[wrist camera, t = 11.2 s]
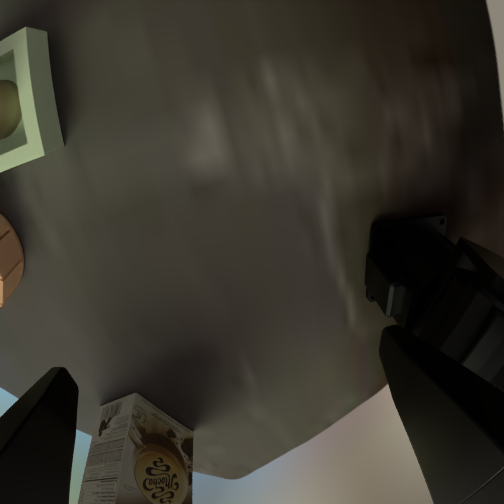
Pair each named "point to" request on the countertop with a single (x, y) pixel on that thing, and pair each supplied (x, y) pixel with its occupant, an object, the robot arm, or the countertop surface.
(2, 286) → the holder
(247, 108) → the countertop surface
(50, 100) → the tray
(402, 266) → the robot arm
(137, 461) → the coffee box
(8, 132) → the dowel
